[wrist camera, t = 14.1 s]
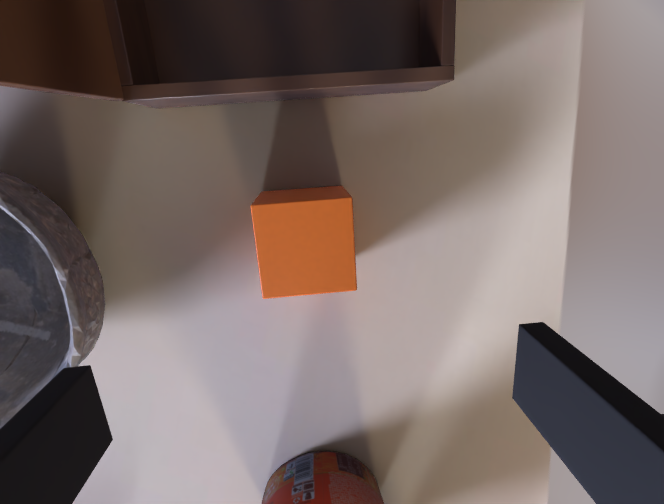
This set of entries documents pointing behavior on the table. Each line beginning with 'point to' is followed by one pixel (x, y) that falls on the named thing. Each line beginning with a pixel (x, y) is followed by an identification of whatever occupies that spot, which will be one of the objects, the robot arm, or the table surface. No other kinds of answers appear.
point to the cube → (304, 241)
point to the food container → (322, 481)
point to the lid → (58, 48)
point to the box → (278, 49)
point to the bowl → (42, 294)
